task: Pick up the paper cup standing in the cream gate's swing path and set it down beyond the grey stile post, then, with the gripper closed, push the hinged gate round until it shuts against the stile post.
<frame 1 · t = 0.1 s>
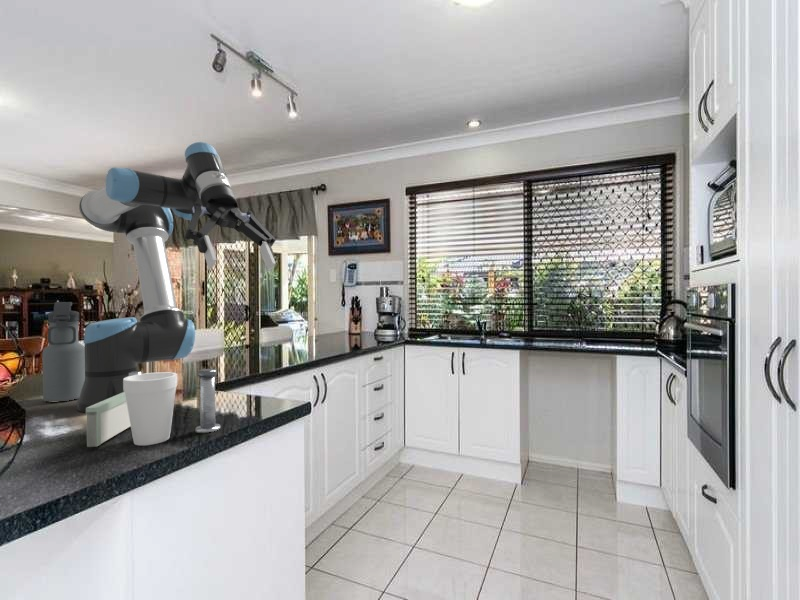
hand: (243, 265, 91), 36 cm above the table, tool tilted 35°, fingers open, 13 cm apart
gate: (113, 416, 87), point 5 cm above the table, hinge at -70.0°
hinge post: (136, 424, 96), on the table
foam cup: (151, 440, 86), on the table
stile post: (208, 429, 92), on the table
water bottle: (65, 399, 121), on the table
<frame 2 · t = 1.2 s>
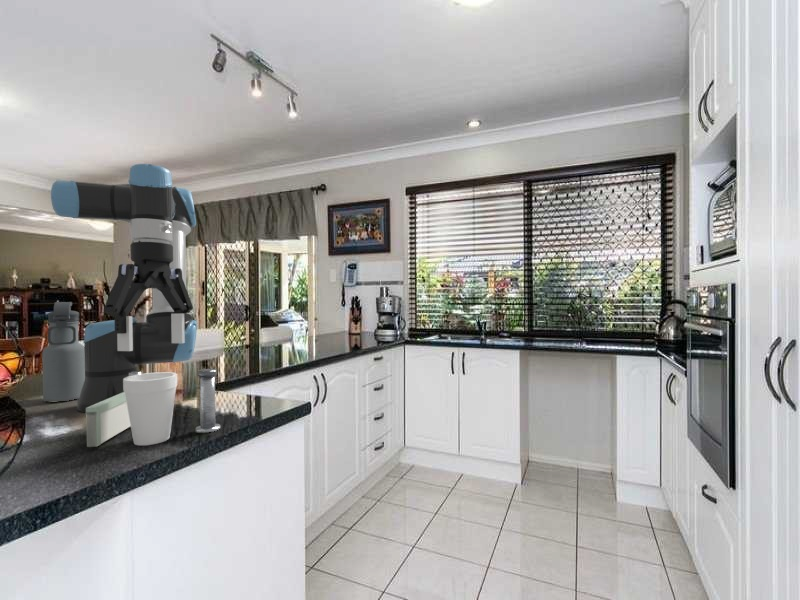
hand: (153, 346, 86), 19 cm above the table, tool pointing down, fingers open, 13 cm apart
nothing on the table moved.
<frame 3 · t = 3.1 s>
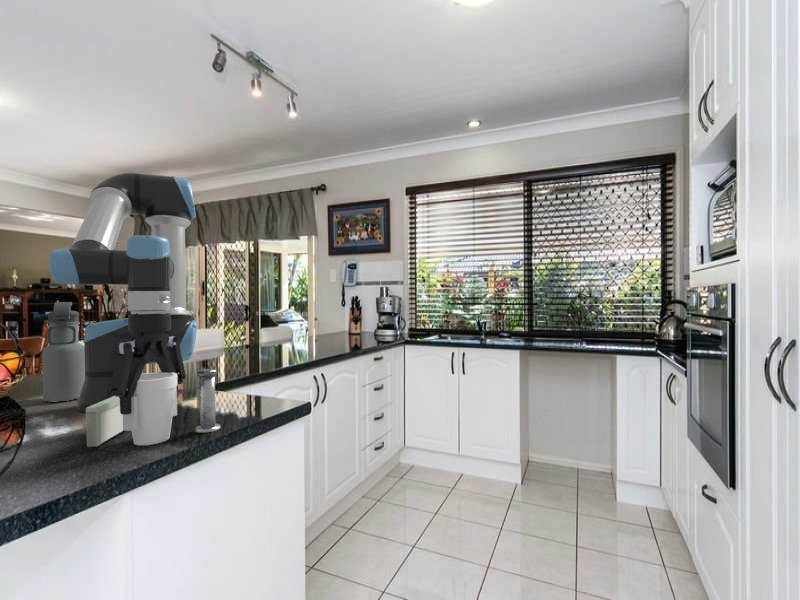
hand: (151, 422, 86), 4 cm above the table, tool pointing down, fingers closed on foam cup, 9 cm apart
foam cup: (151, 440, 86), on the table, touching gripper
everything else where it was.
when the fingers open (5 cm above the table, at t = 9.9 s): foam cup drops 1 cm, on the table.
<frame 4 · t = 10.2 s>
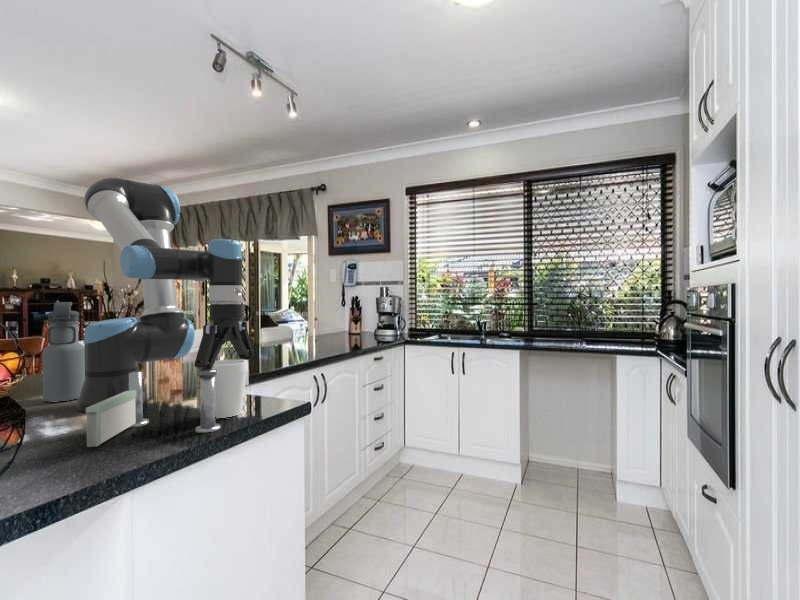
hand: (227, 390, 103), 6 cm above the table, tool pointing down, fingers open, 12 cm apart
foam cup: (227, 415, 103), on the table
everything else where it was.
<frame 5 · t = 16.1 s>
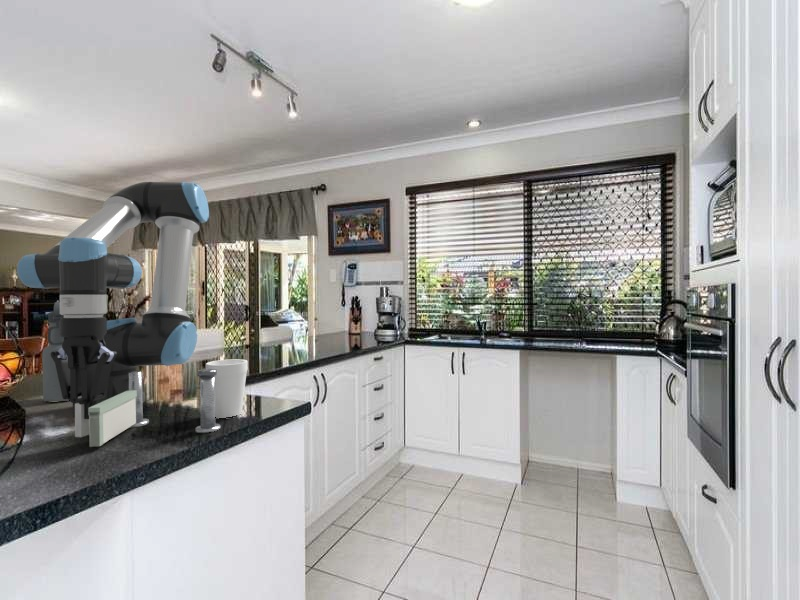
hand: (84, 434, 84), 2 cm above the table, tool pointing down, fingers closed
gate: (114, 416, 87), point 5 cm above the table, hinge at -68.3°, touching gripper
everything else where it was.
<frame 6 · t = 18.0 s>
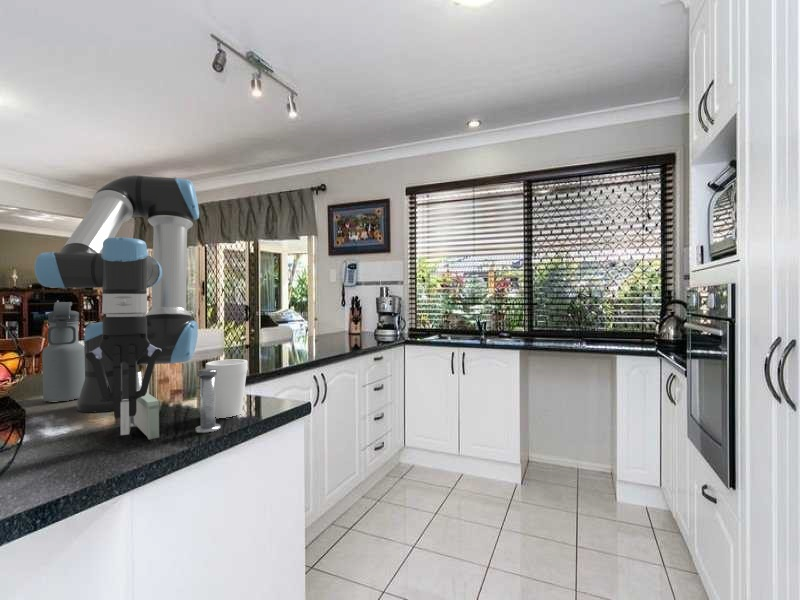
hand: (125, 432, 84), 2 cm above the table, tool pointing down, fingers closed
gate: (145, 412, 89), point 5 cm above the table, hinge at -33.9°, touching gripper
everything else where it was.
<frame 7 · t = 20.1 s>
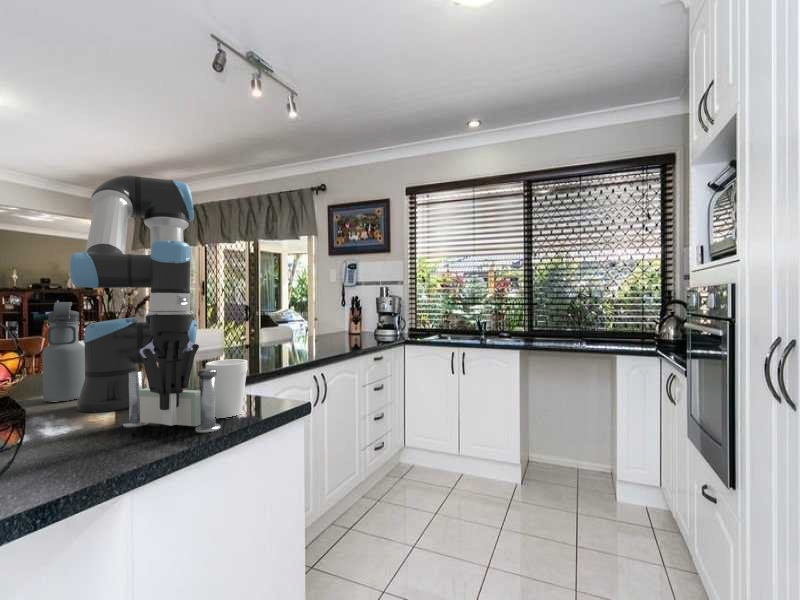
hand: (169, 424, 89), 2 cm above the table, tool pointing down, fingers closed
gate: (170, 406, 94), point 5 cm above the table, hinge at 0.7°, touching gripper
everything else where it was.
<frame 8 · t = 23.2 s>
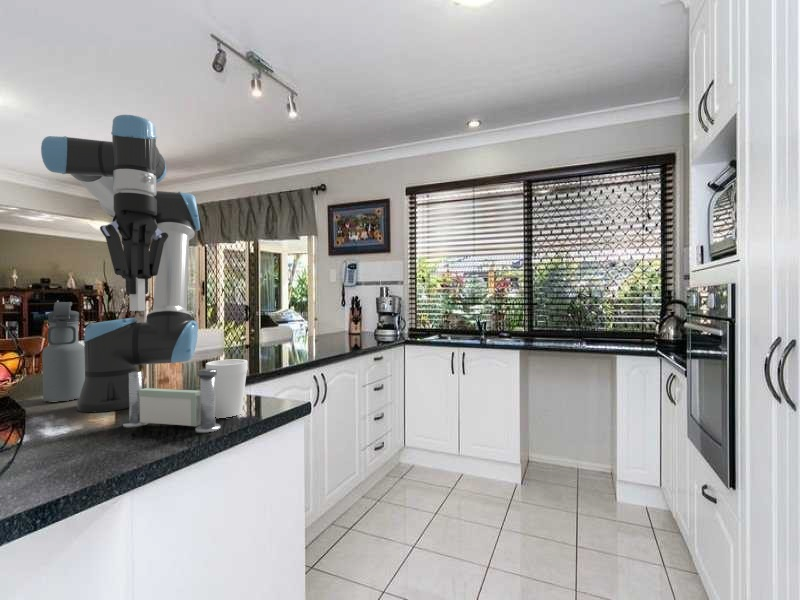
hand: (137, 310, 86), 26 cm above the table, tool pointing down, fingers closed
gate: (170, 406, 94), point 4 cm above the table, hinge at 0.6°
everything else where it was.
at the end: gate at +1° (first picture: -70°); foam cup inside the target area (0.0 cm from its centre), on the table; foam cup tilted 0° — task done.
